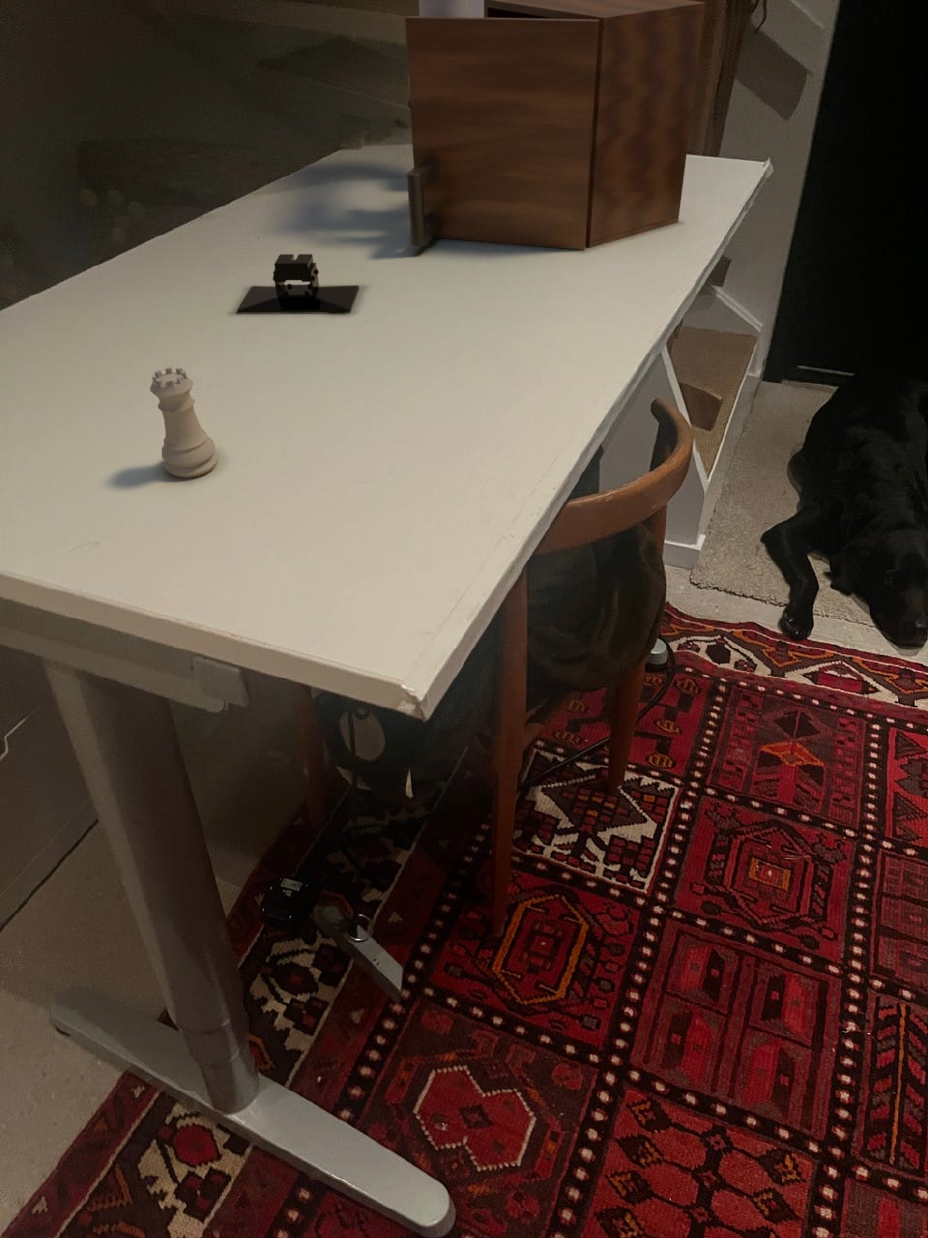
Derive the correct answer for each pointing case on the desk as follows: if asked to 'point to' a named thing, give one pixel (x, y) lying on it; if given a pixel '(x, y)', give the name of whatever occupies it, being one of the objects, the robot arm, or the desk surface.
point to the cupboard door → (501, 129)
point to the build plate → (298, 291)
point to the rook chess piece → (182, 426)
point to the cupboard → (633, 105)
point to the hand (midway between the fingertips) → (449, 165)
